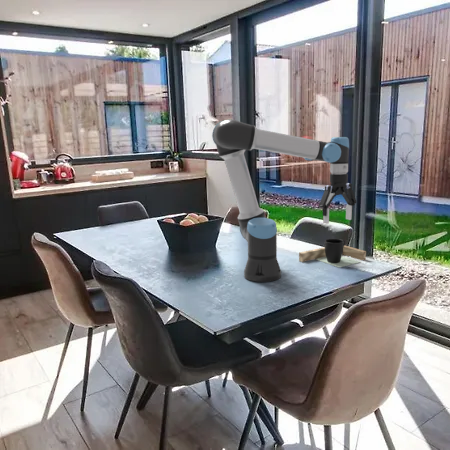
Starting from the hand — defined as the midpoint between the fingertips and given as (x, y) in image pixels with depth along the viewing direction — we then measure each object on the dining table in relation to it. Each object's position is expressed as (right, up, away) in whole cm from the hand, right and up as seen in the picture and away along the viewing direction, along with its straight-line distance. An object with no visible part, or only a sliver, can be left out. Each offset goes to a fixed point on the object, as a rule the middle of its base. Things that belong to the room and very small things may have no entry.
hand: (337, 221), depth 191 cm
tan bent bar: (-1, -18, +5) cm, 19 cm away
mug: (0, -18, +4) cm, 18 cm away
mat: (+1, -18, +4) cm, 18 cm away
